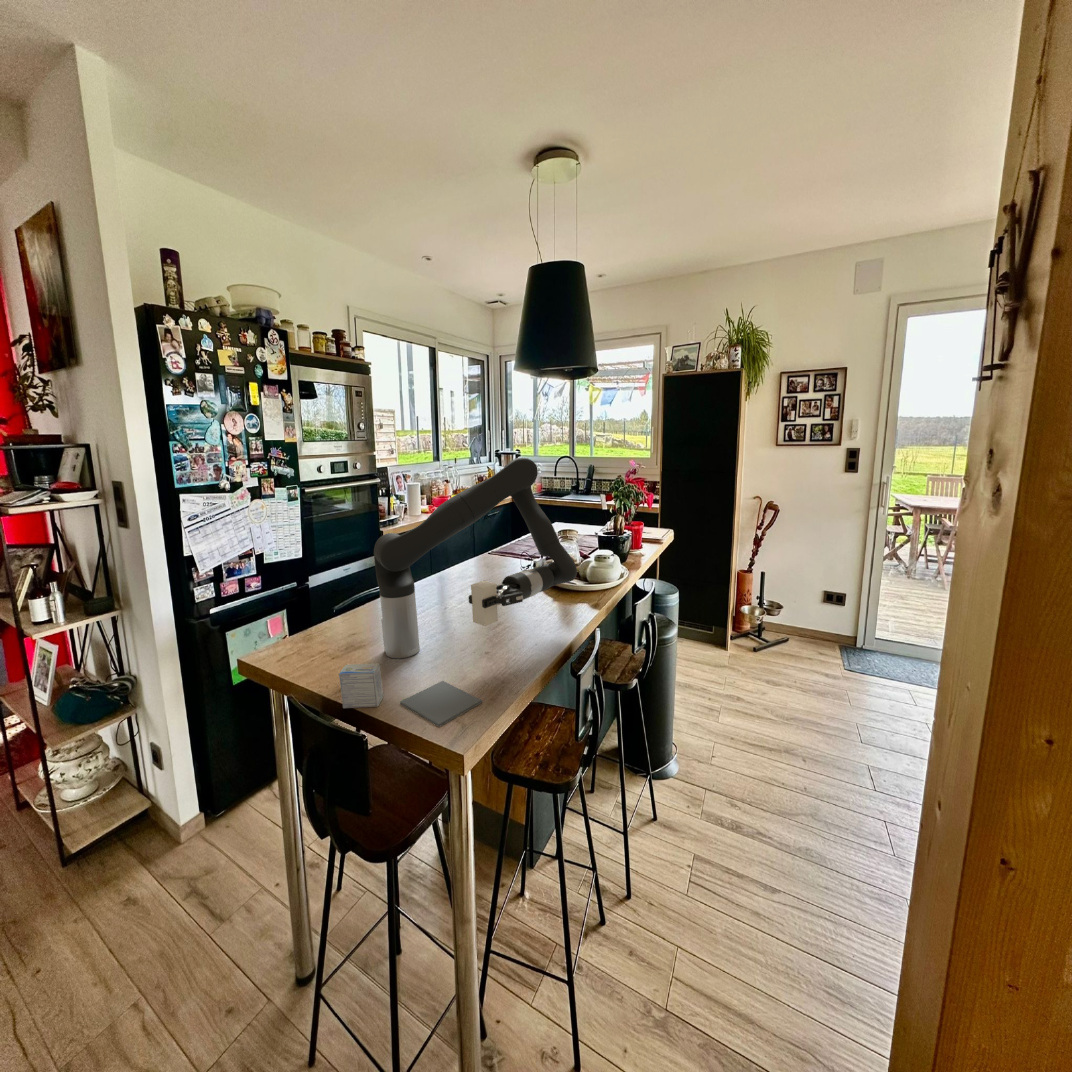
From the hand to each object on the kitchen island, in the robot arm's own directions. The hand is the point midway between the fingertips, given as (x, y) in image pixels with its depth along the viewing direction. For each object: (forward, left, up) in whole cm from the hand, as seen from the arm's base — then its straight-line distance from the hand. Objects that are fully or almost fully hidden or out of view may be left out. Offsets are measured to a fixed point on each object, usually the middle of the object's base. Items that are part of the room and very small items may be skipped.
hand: (476, 602), depth 122 cm
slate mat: (+6, -17, -18) cm, 25 cm away
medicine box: (-8, -28, -18) cm, 34 cm away
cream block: (0, +3, -6) cm, 7 cm away
